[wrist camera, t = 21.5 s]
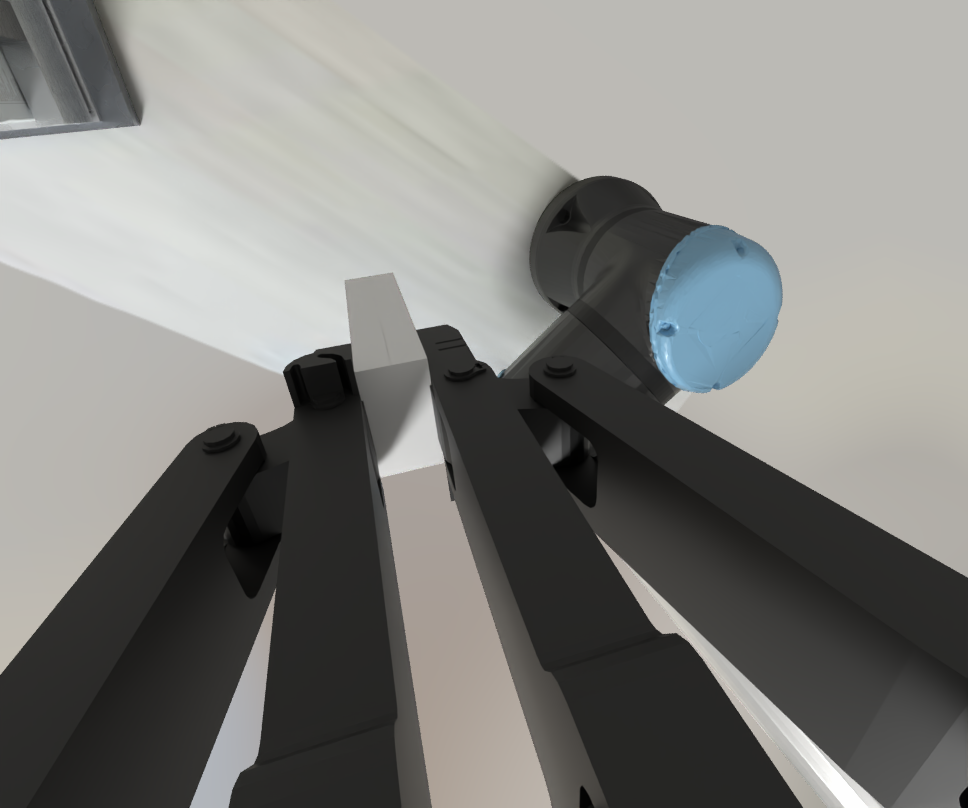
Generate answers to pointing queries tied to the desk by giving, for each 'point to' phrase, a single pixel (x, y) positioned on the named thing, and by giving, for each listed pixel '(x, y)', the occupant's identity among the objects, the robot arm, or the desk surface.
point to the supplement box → (11, 96)
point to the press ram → (40, 64)
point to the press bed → (84, 72)
